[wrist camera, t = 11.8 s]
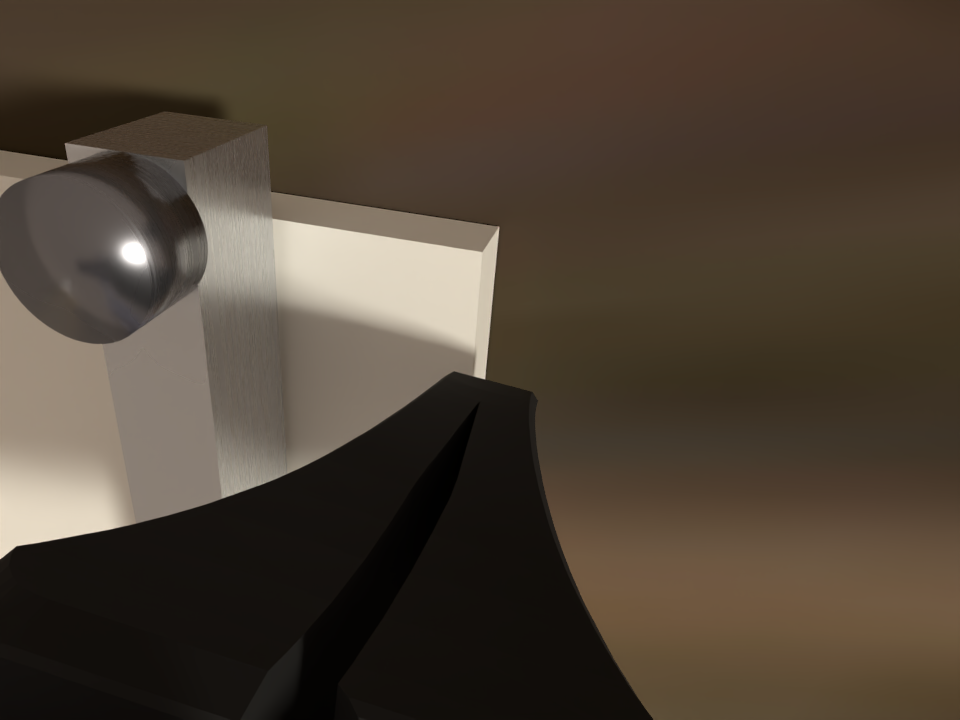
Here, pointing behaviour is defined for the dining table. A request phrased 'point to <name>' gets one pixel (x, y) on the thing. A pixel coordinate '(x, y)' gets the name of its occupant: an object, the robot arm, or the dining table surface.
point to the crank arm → (164, 296)
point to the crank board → (303, 352)
